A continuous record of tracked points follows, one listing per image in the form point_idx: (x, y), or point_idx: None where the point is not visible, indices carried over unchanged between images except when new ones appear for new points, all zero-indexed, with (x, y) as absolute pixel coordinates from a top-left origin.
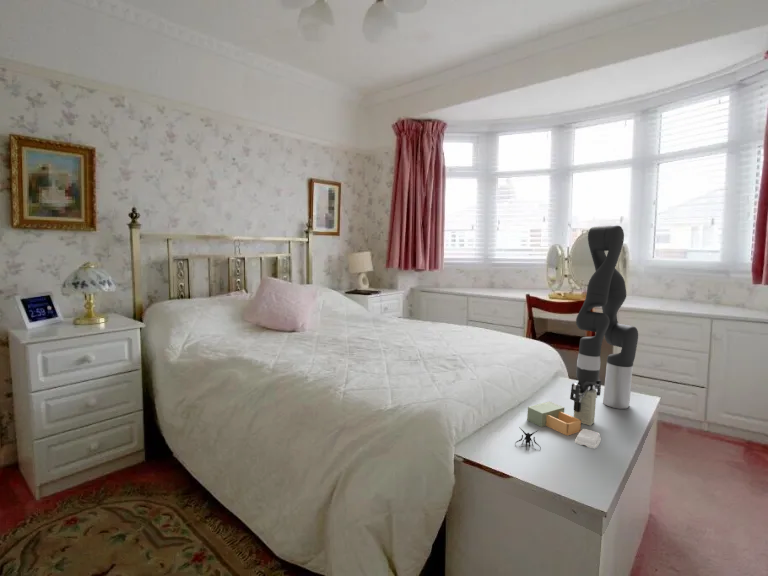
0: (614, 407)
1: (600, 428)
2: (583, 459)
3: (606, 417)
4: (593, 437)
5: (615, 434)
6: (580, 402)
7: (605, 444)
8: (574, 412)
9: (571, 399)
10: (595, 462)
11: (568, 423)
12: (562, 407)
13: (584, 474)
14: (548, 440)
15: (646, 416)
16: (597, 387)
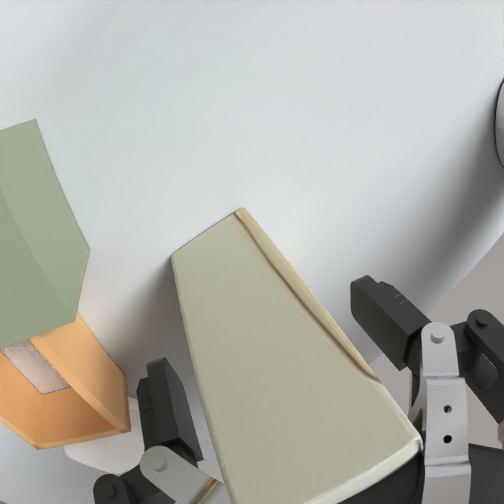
0: (498, 148)
1: None
2: (57, 476)
3: (405, 228)
4: (125, 469)
5: None
6: (196, 461)
7: None
8: (179, 298)
9: (105, 485)
10: (84, 483)
11: (42, 444)
12: (54, 319)
13: (44, 494)
14: None
15: (498, 237)
16: (494, 408)
